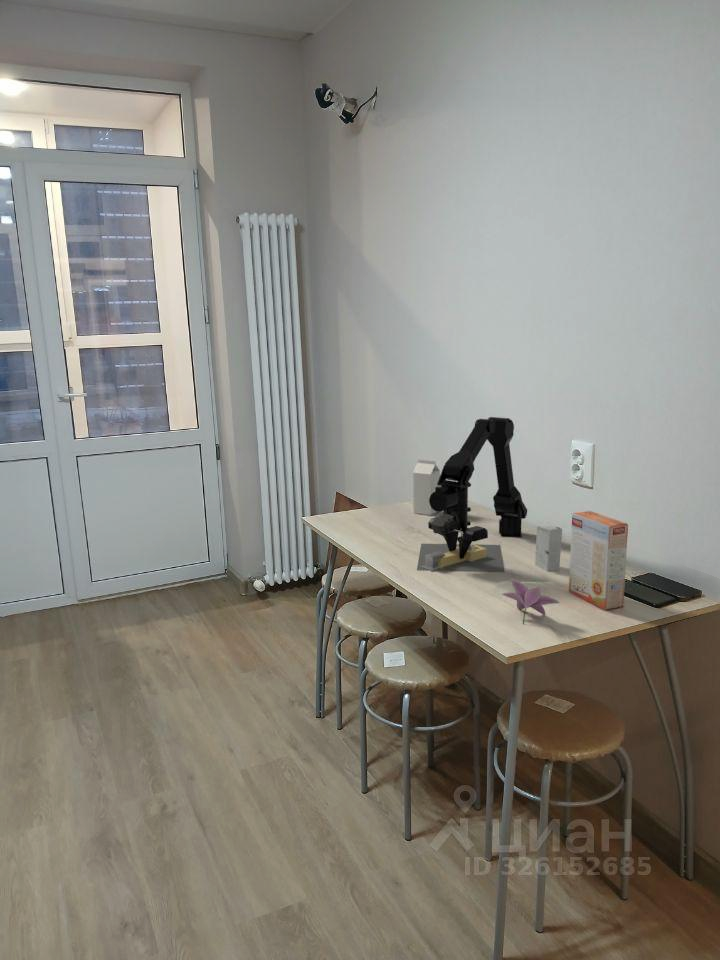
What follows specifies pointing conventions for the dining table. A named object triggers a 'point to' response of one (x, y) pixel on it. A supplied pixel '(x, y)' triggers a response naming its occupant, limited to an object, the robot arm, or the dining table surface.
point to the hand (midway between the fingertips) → (457, 557)
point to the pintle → (471, 547)
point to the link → (455, 557)
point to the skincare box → (548, 547)
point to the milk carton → (424, 486)
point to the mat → (486, 564)
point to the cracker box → (598, 559)
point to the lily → (529, 597)
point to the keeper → (432, 561)
